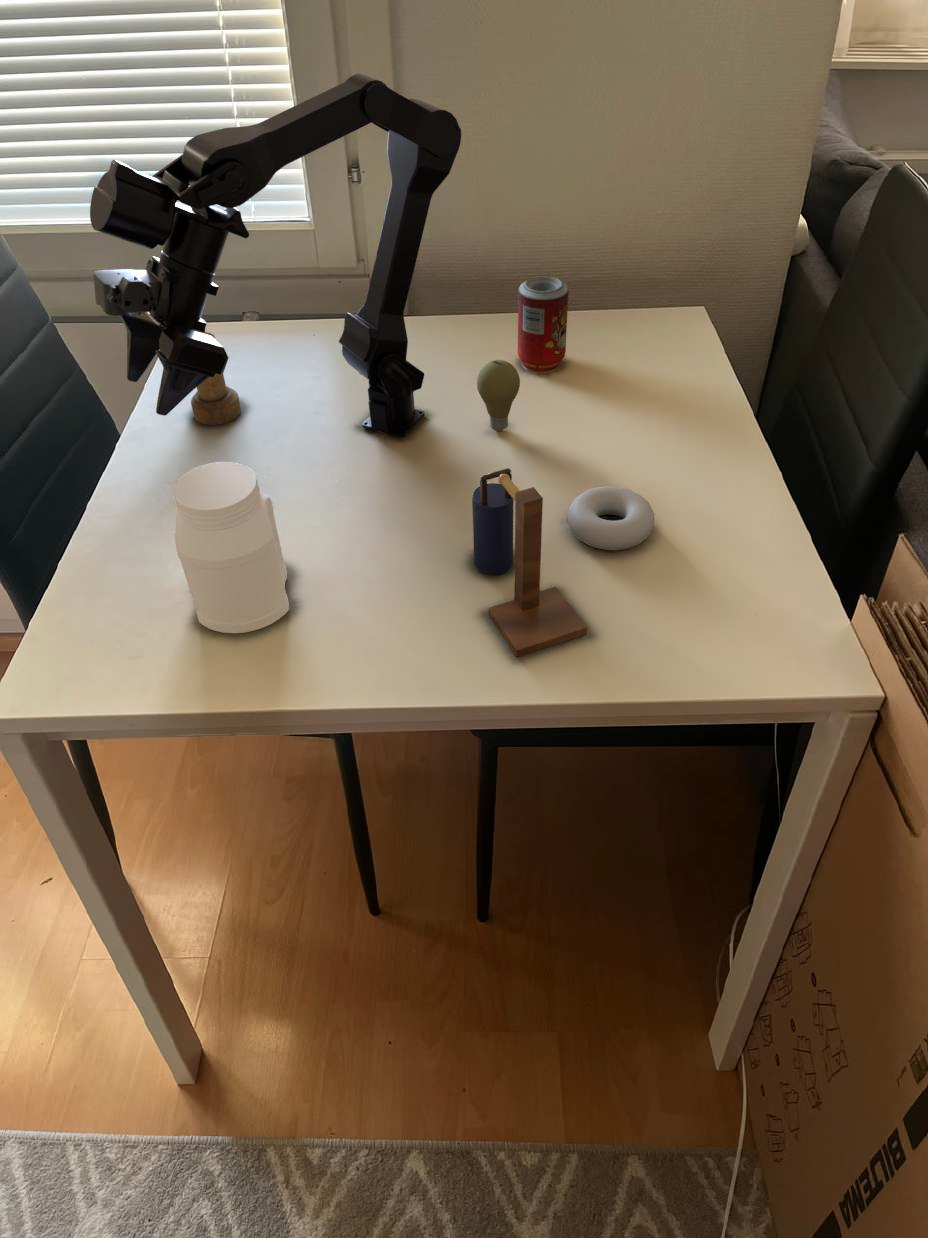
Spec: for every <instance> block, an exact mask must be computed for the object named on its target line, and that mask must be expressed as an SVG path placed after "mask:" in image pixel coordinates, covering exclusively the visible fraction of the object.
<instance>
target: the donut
mask: <svg viewBox="0 0 928 1238" xmlns="http://www.w3.org/2000/svg"><path fill="white" fill-rule="evenodd" d="M606 515H607V516H616V517H619V518H622V519H618V520H607V519H604V518H601V516H606ZM567 523H568V526H569V528H570V531H571V532H572V534H574V536H575V537H576V538H577V539H578V540H579V541H581V542H583V543H585V544H586V545H588V546H589V547H592V548H596V549H600V550H604V551H620V550H626V549H630V548H632V547H635V546H638V545H640V544H641V543H642V542H644V541H645V540H646V539H647V538H648V537H649V536H650V534H651V533H652V531H653V530H654V526H655V513H654V510H653V507H652V506H651V504H650V502H649V501H648V500H646V498H645V497H643V496H642V495H641V494H639V493H637V492H635V491H634V490H631V489H629V488H625V487H622V486H621V487H620V486H613V485H612V486H611V485H607V486H597V487H594V488H592V489H588V490H586V491H584V492H582V493H581V494H579V495H577V496H576V497H575V499H574V500H573V502H572V503H571V504H570V506H569V508H568V513H567Z"/></svg>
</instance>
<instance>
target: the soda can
mask: <svg viewBox="0 0 928 1238" xmlns="http://www.w3.org/2000/svg"><path fill="white" fill-rule="evenodd" d="M517 290H518V291H517V292H518V293H517V300H518V301H517V356H518V358H519V361H520V362H521V365H522V367H523V368H524V369H525V370H526V371H528V372H531V373H534V374H535V373H536V374H548V373H552V372H554V371H557V370H558V369H559V368H560V366H561V363H562V361H563V359H564V358H565V356H566V352H567V349H566V348H567V328H568V310H569V293H570V292H569V287H568V285H567V284H566V283H565V281H563V280H562V279H559V278H557V277H554V276H542V275H538V276H537V275H536V276H533V277H531V278H528V279H526V280H525V281H524V282H522V283H521V284H520V285H519V286H518V289H517Z"/></svg>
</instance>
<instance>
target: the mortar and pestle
mask: <svg viewBox="0 0 928 1238" xmlns="http://www.w3.org/2000/svg"><path fill="white" fill-rule="evenodd" d="M201 319H202V320H203V321H205V322H206V319H204V318H202V317H201ZM193 331H196V332H200V333H203V334H207V335H210V336H212V337H213V338H214V339H215V340H216V341H217V339H216V336H215V335H214V334H213V333H211V332H208V331H206V329H205V330H204V332H202V331H198V330H195V329H193ZM190 406H191V409H192V413H193V417H194V419H195V420H196V421H197V422H198V423H200V424H203V425H211V426H214V425H217V426H218V425H222V424H225V423H228V422H230V421H232V420H234V419H236V418H237V417H238V416H239V415H240V414H241V411H242V407H241V402H240V397H239V394H238V392H237V390H235V389H234V388H231V387H229V386H227V384H226V380H225V376H224V373H223V374H221V375H220V374H216V375H215V376H214V377H209V378H207V379H206V380H205V381H204V382H202V383H201V384H200V385H199V386H197V387H196V392H195V394H193V396H192V397H191V399H190Z"/></svg>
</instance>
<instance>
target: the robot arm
mask: <svg viewBox="0 0 928 1238" xmlns="http://www.w3.org/2000/svg"><path fill="white" fill-rule="evenodd" d="M370 124H373V125H374V126H376V127H377V128H380V129H381V130H383V131H385V132H387V147H386V156H387V160H388V167H389V173H390V176H391V177H390V180H391V185H390V190H389V193H388V199H387V203H386V208H385V212H384V218H383V222H382V227H381V231H380V235H379V240H378V245H377V250H376V254H375V258H374V262H373V268H372V272H371V276H370V281H369V286H368V291H367V295H366V299H365V302H364V304H363V305H362V307H361V308H360V309H359V310H358V311H357V312H356V314H354V313H352V312H346V313H345V316H344V319H343V321H344V324H343V332H342V334H341V336H340V338H339V340H338V343H339V344H340V345H341V355H342V357H343V358H344V360H345V362H346V363H347V364H348V365H349V366H350V367H352V368H353V369H354V370H356V371H357V372H358V373H359V375H361V376H363V377H364V378H366V379H367V380H368V388H367V394H368V395H367V396H368V411H369V416H368V417H367V418H366V419H365V420H364V421H363V422H362V423H361V424H362V425H361V426H362V428H363V429H366V430H370V431H375V432H378V433H381V434H386V435H390V436H393V437H397V438H404V437H405V436H407V434H408V433H409V432H410V431H412V429H413V428H414V427H415V426H416V425H417V424H419V422H420V421H421V420H422V419H423V418H424V417H425V415H426V414H425V411H424V410H420V409H416V408H415V397H414V392H415V391H419V390H421V389H422V388H423V387H422V386H423V383H424V378H425V372H424V371H422V370H421V369H419V368H418V367H417V366H416V365H413V363H411V362H410V361H408V360H407V355H408V345H409V339H408V334H407V333H408V332H407V328H406V322H405V309H406V306H407V301H408V297H409V292H410V288H411V284H412V280H413V277H414V272H415V268H416V264H417V259H418V254H419V252H420V251H419V250H420V247H421V242H422V239H423V235H424V230H425V226H426V223H427V222H426V221H427V219H428V214H429V209H430V205H431V201H432V198H433V196H434V193H435V192H436V191H437V190H438V188H439V187H440V186H441V185H442V183H443V182H444V181H445V180H446V179H447V177H449V174H450V173H451V170H452V168H453V165H454V164H455V163H454V162H455V161H456V157H457V155H458V152H459V149H460V147H461V143H462V136H463V134H462V128H461V127H460V124H459V122H458V120H457V118H456V117H455V115H454V114H453V113H452V112H451V111H447V109H443V108H441V107H439V106H436V105H434V104H430V103H429V102H426V101H423V100H421V99H418V98H409V99H408V98H407V97H405V96H403V95H402V94H400V93H398V92H396V91H395V90H393V89H391V88H390V87H388V85H387V84H386V83H384V82H383V81H382V80H380V79H377V78H374V77H372V76H370V75H368V74H364V73H360V72H359V73H356V74H353V75H350V77H348V78H347V79H345V81H343V82H342V83H340V84H338V85H336V86H334V87H331V88H329V89H327V90H324V91H323V92H321V93H318V94H317V95H314V96H312V97H310V98H308V99H306V100H304V101H302V102H300V103H298V104H296V105H294V106H292V107H290V108H288V109H285V110H283V111H281V112H279V113H277V114H275V115H273V116H271V117H269V118H267V119H265V120H263V121H260V122H259V123H255V124H251V125H244V126H234V127H224V128H219V129H216V130H212V131H208V132H204V133H199V134H197V135H194V136H193V137H191V138H190V139H189V140H188V141H187V142H186V143H185V145H184V149H183V153H182V154H181V155H180V156H178V157H177V158H176V159H174V160H172V161H171V162H170V163H168V164H167V165H165V166H164V167H163V168H161V169H160V170H158V171H156V172H155V173H154V174H153V175H152V176H150V175H148V174H145V173H143V172H141V171H138V170H136V169H134V168H132V167H130V165H128V164H126V163H124V162H121V161H119V160H116V159H112V160H111V162H110V165H109V169H108V171H106V172H104V173H103V175H102V176H101V177H100V179H99V180H98V183H97V185H96V186H94V188H93V191H92V194H91V197H90V198H91V199H90V205H89V220H90V225H91V227H92V228H93V230H94V231H96V232H99V233H102V234H104V235H108V236H111V237H114V238H117V239H119V240H123V241H125V242H129V243H131V244H134V245H136V246H140V247H143V248H146V249H149V250H153V249H155V248H156V247H157V246H160V247H162V248H161V252H160V256H159V257H157V256H153V255H152V257H151V258H149V259H148V260H147V263H146V266H145V268H144V269H132V268H126V269H125V268H123V269H99V270H95V271H93V273H92V275H93V287H94V300H95V304H96V305H97V306H99V307H100V308H101V309H102V311H103V313H105V314H106V315H108V316H112V317H119V318H120V320H121V321H122V323H123V325H124V327H125V329H126V379H127V380H128V382H129V381H130V382H132V383H138V381H139V380H140V379H141V378H142V376H143V374H144V373H145V372H146V370H147V369H148V367H149V366H150V365H151V363H152V362H153V359H154V358H155V356H157V357H158V360H159V361H160V363H161V365H162V368H163V369H162V374H161V379H160V385H159V389H158V395H157V401H156V407H155V408H156V409H155V413H156V414H157V415H160V416H165V417H166V416H167V415H169V414H170V413H171V411H173V410H174V408H176V407H177V406H178V405H179V404H180V403H181V402H182V401H183V400H184V399H186V397H187V396H188V395H190V394H191V393H192V392H193V391H194V390H195V389H197V386H199V385H200V384H201V383H202V382H204V381H205V380H206V379H207V378H209V377H214V376H215V375H216V374H220V375H221V374H223V375H224V373H225V370H226V366H227V363H228V361H229V355H228V353H227V351H226V349H225V347H224V346H223V345H221V343H220V342H218V341H217V339H216V338H215V339H216V340H215V339H214V338H213V337H212V336H210V335H207V334H203V333H200V332H196V331H193V329H195V330H198V331H202V332H204V330H205V331H206V328H207V325H208V323H207V322H206V320H205V321H203V320H202V319H203V318H202V315H203V311H204V309H205V306H206V302H207V301H208V300H207V299H208V297H209V295H210V296H214V297H216V296H217V294H218V291H219V285H217V284H216V283H214V278H215V275H216V272H217V269H218V266H219V264H220V260H221V257H222V254H223V251H224V248H225V245H226V242H227V238H228V236H229V234H232V235H235V236H237V237H240V238H243V239H248V238H249V237H250V232H249V230H248V228H247V227H246V225H245V223H244V221H243V218H242V213H241V211H240V210H239V209H237V207H240V206H242V205H244V204H245V203H246V202H248V201H249V200H250V199H252V198H253V197H254V196H256V195H257V194H258V193H259V192H261V191H262V190H263V189H264V188H266V187H267V186H268V185H269V182H271V180H272V178H273V177H274V176H275V174H276V173H277V172H279V171H280V170H282V168H284V167H286V166H287V165H289V164H291V163H294V162H295V161H298V160H299V159H301V158H303V157H305V156H308V155H309V154H311V153H313V152H316V151H317V150H320V149H321V148H323V147H325V146H327V145H329V144H332V143H333V142H336V141H337V140H340V139H341V138H344V137H346V136H347V135H350V134H352V133H354V132H356V131H357V130H359V129H361V128H363V127H365V126H368V125H370ZM179 202H180V203H179ZM216 205H217V206H219V207H222V208H223V209H220V208H217V207H214V206H216ZM201 318H202V319H201Z"/></svg>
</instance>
